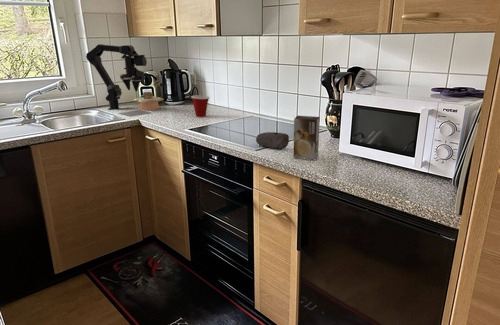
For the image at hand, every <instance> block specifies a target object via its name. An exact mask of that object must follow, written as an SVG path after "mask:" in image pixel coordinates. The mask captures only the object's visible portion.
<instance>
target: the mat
mask: <svg viewBox="0 0 500 325" xmlns="http://www.w3.org/2000/svg"><path fill="white" fill-rule="evenodd" d="M118 114H119V115H122V116H126V117H129V118H133V117H136V116H137V117H138V116H142V115H143V116H144V115H151V112H150V111H147V110H140V109H138V110H132V111H130V110H129V111H125V112H124V111H123V112H118Z"/></svg>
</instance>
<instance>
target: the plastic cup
mask: <svg viewBox="0 0 500 325" xmlns="http://www.w3.org/2000/svg"><path fill="white" fill-rule="evenodd" d="M190 97H191V99H192V100H191V101H192V104H193V109H194V112H195V113H194V114H195V116H196V118H203V117H206V115H207V109H208V102H209V100H210V96H207V95H202V94H201V95H198V94H195V95H191V96H190Z"/></svg>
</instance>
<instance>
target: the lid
mask: <svg viewBox="0 0 500 325" xmlns="http://www.w3.org/2000/svg"><path fill="white" fill-rule="evenodd" d="M142 94H143V97H136V98H135V97H134V98H132V100H133V102H138V103H139V102H143V103H148V102H155V101H158V102H160V101H164V98H163V97H158V96H157V97H156V96H153V92H152V91H144V92H143V93H142Z"/></svg>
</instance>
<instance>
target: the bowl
mask: <svg viewBox="0 0 500 325" xmlns="http://www.w3.org/2000/svg"><path fill="white" fill-rule="evenodd" d="M138 104H139V106H138V107H139V110H142V111H156V110H158V109H159V108H160V107H159V101H155V102H148V103H143V102H138Z"/></svg>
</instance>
